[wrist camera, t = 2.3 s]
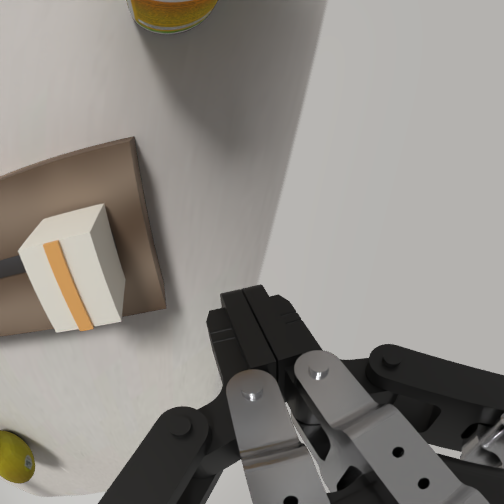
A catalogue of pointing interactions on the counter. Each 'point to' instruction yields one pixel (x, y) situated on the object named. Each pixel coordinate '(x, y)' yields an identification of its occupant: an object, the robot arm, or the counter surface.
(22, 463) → the lemon
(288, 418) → the robot arm
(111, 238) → the block
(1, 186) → the brown flat piece
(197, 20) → the supplement bottle
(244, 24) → the counter surface
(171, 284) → the counter surface
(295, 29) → the counter surface
